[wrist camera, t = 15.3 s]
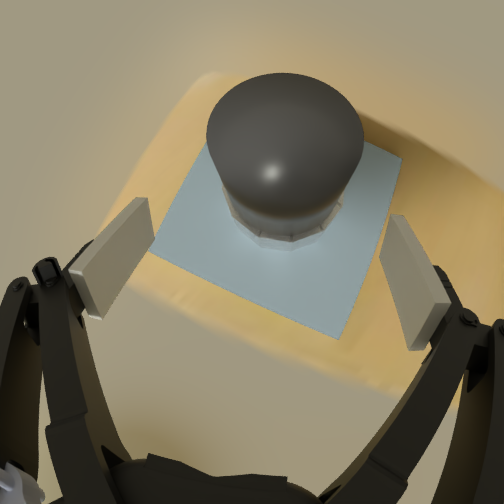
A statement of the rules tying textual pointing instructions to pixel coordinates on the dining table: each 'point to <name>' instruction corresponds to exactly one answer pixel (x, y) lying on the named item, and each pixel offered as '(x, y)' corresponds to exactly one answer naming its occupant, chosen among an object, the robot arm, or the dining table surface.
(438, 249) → the dining table surface
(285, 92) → the dome-topped grey cylinder
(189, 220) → the board
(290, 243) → the pale grey faceted ring
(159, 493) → the robot arm
